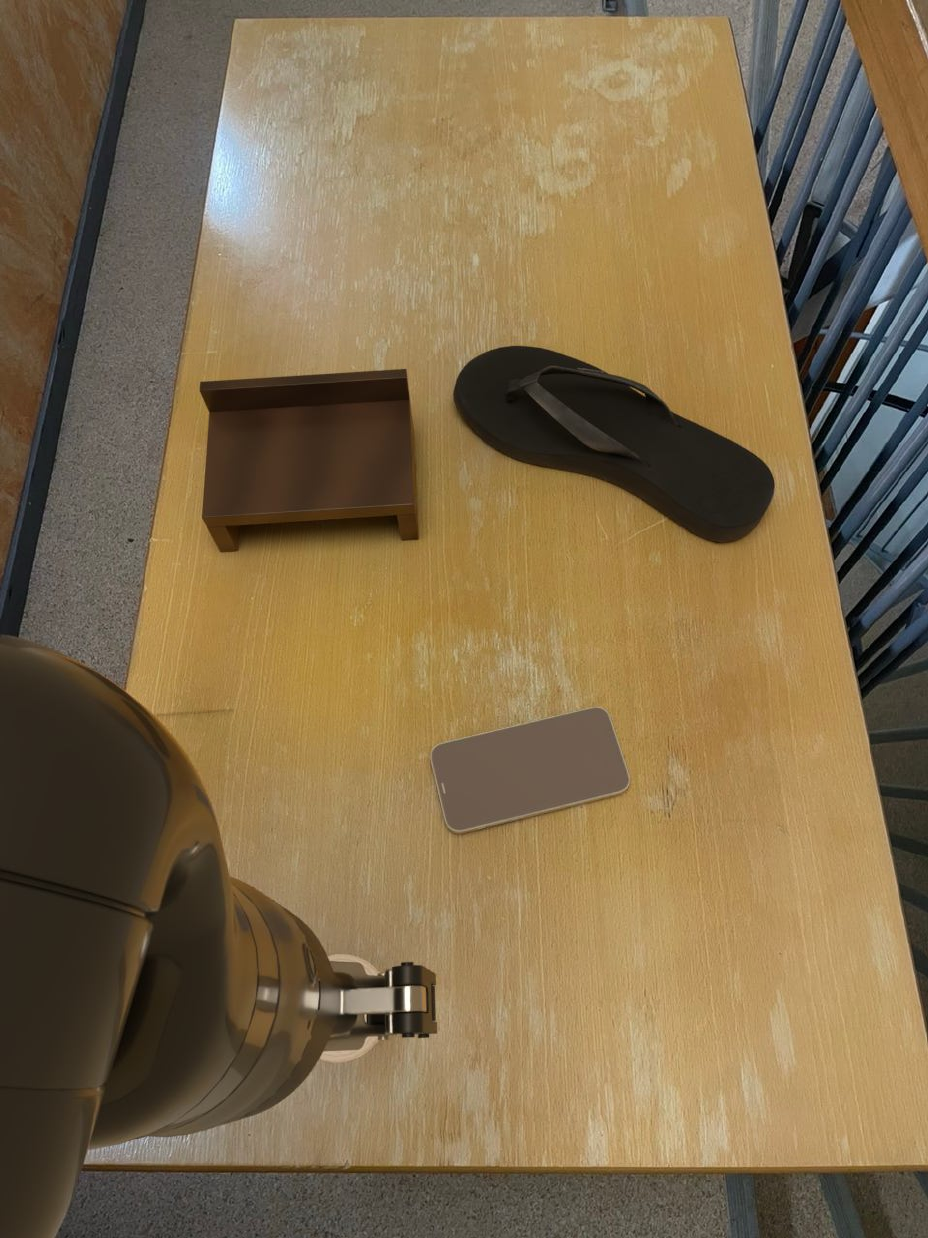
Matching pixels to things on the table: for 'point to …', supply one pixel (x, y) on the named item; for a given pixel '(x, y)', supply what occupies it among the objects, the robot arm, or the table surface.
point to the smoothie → (370, 1041)
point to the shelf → (308, 451)
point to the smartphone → (528, 769)
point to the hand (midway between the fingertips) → (295, 1014)
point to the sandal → (613, 437)
